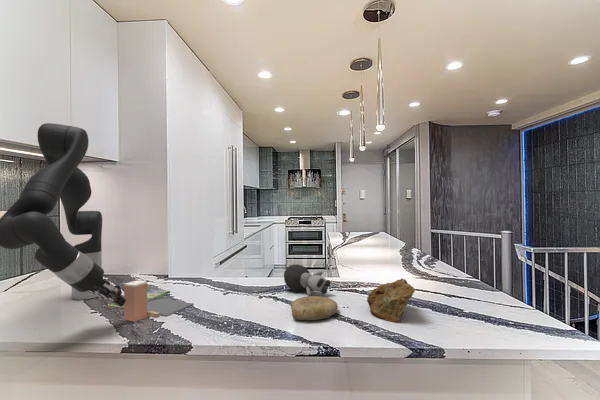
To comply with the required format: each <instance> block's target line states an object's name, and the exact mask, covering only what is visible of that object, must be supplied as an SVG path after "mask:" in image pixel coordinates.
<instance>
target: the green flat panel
mask: <svg viewBox="0 0 600 400" xmlns="http://www.w3.org/2000/svg"><path fill="white" fill-rule="evenodd" d="M170 293H171V290H161V289H147V303H149V302H152V301H155V300H157V299H160V298H162V297H163V296H166V295H168V294H170ZM106 307H107V308H109V309H118V308H122V310H124V305H123V306H122V307H121V306H117V305H116V304H114V303H113V302H112V303H110V304H108V305H106Z"/></svg>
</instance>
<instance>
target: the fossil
mask: <svg viewBox="0 0 600 400" xmlns="http://www.w3.org/2000/svg"><path fill="white" fill-rule="evenodd" d="M290 309H291V316H292V318H293V319H294V320H298V321H318V320H319V321H320V320H324V319H327V318H330V317H333V316H334V315H335V314H336V313H337V312H338V309H339V306H338V303H337V302H336V301H335V300H334V299H332V298H329V297H326V296H318V295H316V296H315V295H311V296H309V295H308V296H303V297H299V298H296V299H294V300H293V301H292V302H291V304H290Z"/></svg>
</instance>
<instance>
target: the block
mask: <svg viewBox="0 0 600 400" xmlns="http://www.w3.org/2000/svg"><path fill="white" fill-rule="evenodd" d="M147 290H148V281H144V280H134V281H130V282H126V283H124V284H123V298H124V299H126V302H125V303H124V309H123V312H124V313H123V314H124V315H123V317H124V321H130V322H138V321H139V320H142V319H145V318H148V316H147Z"/></svg>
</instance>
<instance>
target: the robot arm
mask: <svg viewBox="0 0 600 400" xmlns="http://www.w3.org/2000/svg"><path fill="white" fill-rule="evenodd" d="M89 142H90V141H89V135H88V132H87V131H86V130H85V129H84V128H81V127H78V126H72V125H66V124H59V123H53V122H50V123H49V122H48V123H42V124H41V125H40V126H39V127H38V129H37V143H38V146H39V149H40V151H41V154H42V155H43V157H44V160H45V162H46V164H47V165H46V167H43V168H41V169H39V170H38V171H37V172H35V173H34V174H33V175H31V177H30V178H29V179H28V180H27V182H26V184H25V185H24V187H23V189H22V191H21V193H20V195H19V197H18V199H17V200H16V201H15V202H14V203H13V204H12V205H11V206H10V207H9V208H8V209H7V210H6V212H4V214H3V215H2V216H0V247H1V248H3V249H8V250H14V249H15V250H16V249H21V248H24V247H26V246H29V245H33V244H35V245H37V246H38V248H37V250H36V251H35V253H34V259H35V260H36V261H37V262H38V263H39V264H40V265H42V266H43V267H44V268H46V269H47V270H48V271H50V272H51V273H53V274H54V275H55V276H56V277H57V278H58V279H59V280H61V281H62V282H64V283H65V284H67V285H68V286H69V287H71V298H72V299H73V300H75V301H77V300H78V301H80V300H81V301H83V300H90V299H95V298H98V297H99V298H101V299H105V300H107V301H110V302H112V303H114V304H116V305H117V306H121V307H122V306H123V305H124V303H125V302H126V299H124V296H122V293H123V292H122V288H121V286H120V285H119V284H115V286H114V285H113V284H111V282H110V281H109V279H107V278H104V275H105V271H104V269H103V266H102V262H103V261H102V260H103V259H102V258H103V257H102V253H103V251H102V237H103V236H102V234H103V233H102V231H103V215H102V212H100V211H99V210H80V209H81V208H82V207H84V206H85V204H86V203H87V202H88V201H89V200H90V198H91V197H92V189H91V188H92V187H91V183H90V179H89V177H88V176H87V174H86V173H84V171H83V170H82V169H80V168H79V167H78V166H79V165H80V163H81V162H82V161H83V159H84V158H85V156H86V154H87V151H88V148H89ZM59 200H60V201H61V204H62V207H63V210H64V215H65V221H66V225H67V229H68V231H69V233H70V234H72V235H74V236H83V235H84V236H86V235H87V236H88V235H91V237H90V238H89V239H87V240H86V241H84V242H80V243H77V244H75V245H72V243H69V242H68V241H67V239H66V238H65V237H64V235H63V234H62V233H61V230H60V229H59V228H58V227H57V224H56V223H55V222H54V220H53V219H52V218H50V216H47V215H49V214H50V213H52V212H53V210H54V209H55V207H56V205H57V203H58V201H59Z"/></svg>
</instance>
